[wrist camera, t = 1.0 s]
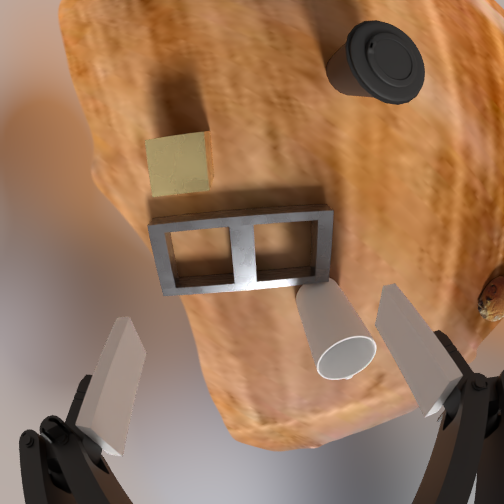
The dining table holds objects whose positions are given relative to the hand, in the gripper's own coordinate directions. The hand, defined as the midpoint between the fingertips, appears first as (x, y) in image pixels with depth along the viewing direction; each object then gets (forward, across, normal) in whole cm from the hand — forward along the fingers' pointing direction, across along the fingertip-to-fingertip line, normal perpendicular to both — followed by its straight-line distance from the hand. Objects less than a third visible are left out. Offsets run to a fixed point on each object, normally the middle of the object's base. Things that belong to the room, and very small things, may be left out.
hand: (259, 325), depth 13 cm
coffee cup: (+20, +13, +14) cm, 28 cm away
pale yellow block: (+20, -5, +6) cm, 21 cm away
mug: (+19, +9, -15) cm, 26 cm away
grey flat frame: (+19, -1, -5) cm, 20 cm away
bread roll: (+20, +50, -23) cm, 59 cm away
